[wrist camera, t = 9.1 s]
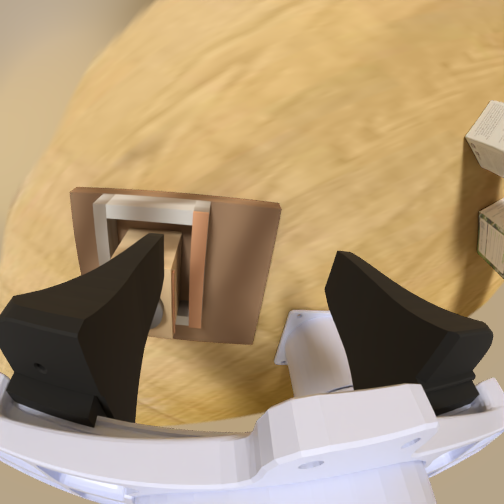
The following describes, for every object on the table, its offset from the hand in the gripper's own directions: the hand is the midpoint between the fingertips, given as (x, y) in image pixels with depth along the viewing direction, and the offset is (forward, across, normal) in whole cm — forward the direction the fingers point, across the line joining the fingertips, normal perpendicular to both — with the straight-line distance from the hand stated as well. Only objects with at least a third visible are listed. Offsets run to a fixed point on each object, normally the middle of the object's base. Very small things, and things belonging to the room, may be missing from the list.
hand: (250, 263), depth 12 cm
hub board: (+10, +5, +8) cm, 14 cm away
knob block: (+9, +6, +6) cm, 13 cm away
